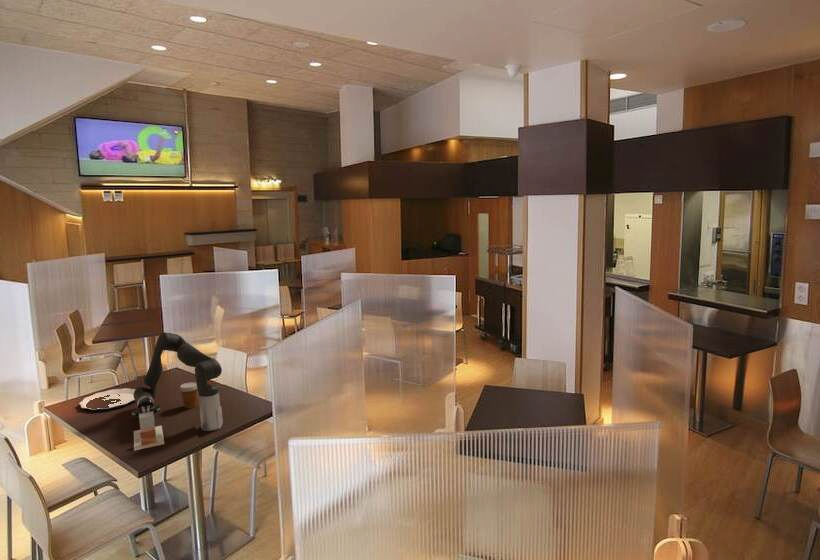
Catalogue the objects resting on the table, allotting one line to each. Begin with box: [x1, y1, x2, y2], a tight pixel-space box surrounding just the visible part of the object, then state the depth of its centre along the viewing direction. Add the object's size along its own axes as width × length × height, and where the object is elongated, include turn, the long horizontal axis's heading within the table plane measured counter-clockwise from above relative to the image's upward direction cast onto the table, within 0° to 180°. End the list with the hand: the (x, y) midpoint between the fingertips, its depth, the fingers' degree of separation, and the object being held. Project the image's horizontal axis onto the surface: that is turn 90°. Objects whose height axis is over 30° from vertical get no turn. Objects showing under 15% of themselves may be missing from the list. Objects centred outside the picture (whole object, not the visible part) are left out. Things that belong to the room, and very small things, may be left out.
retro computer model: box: [138, 411, 156, 431], centre depth 241 cm, size 6×6×9 cm
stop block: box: [140, 428, 156, 445], centre depth 231 cm, size 2×6×6 cm, turn 118°
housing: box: [133, 425, 165, 451], centre depth 237 cm, size 22×12×2 cm, turn 28°
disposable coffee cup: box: [179, 381, 199, 409], centre depth 275 cm, size 10×10×12 cm
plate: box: [78, 387, 136, 411], centre depth 285 cm, size 29×29×2 cm
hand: (146, 417), depth 245 cm, fingers closed
